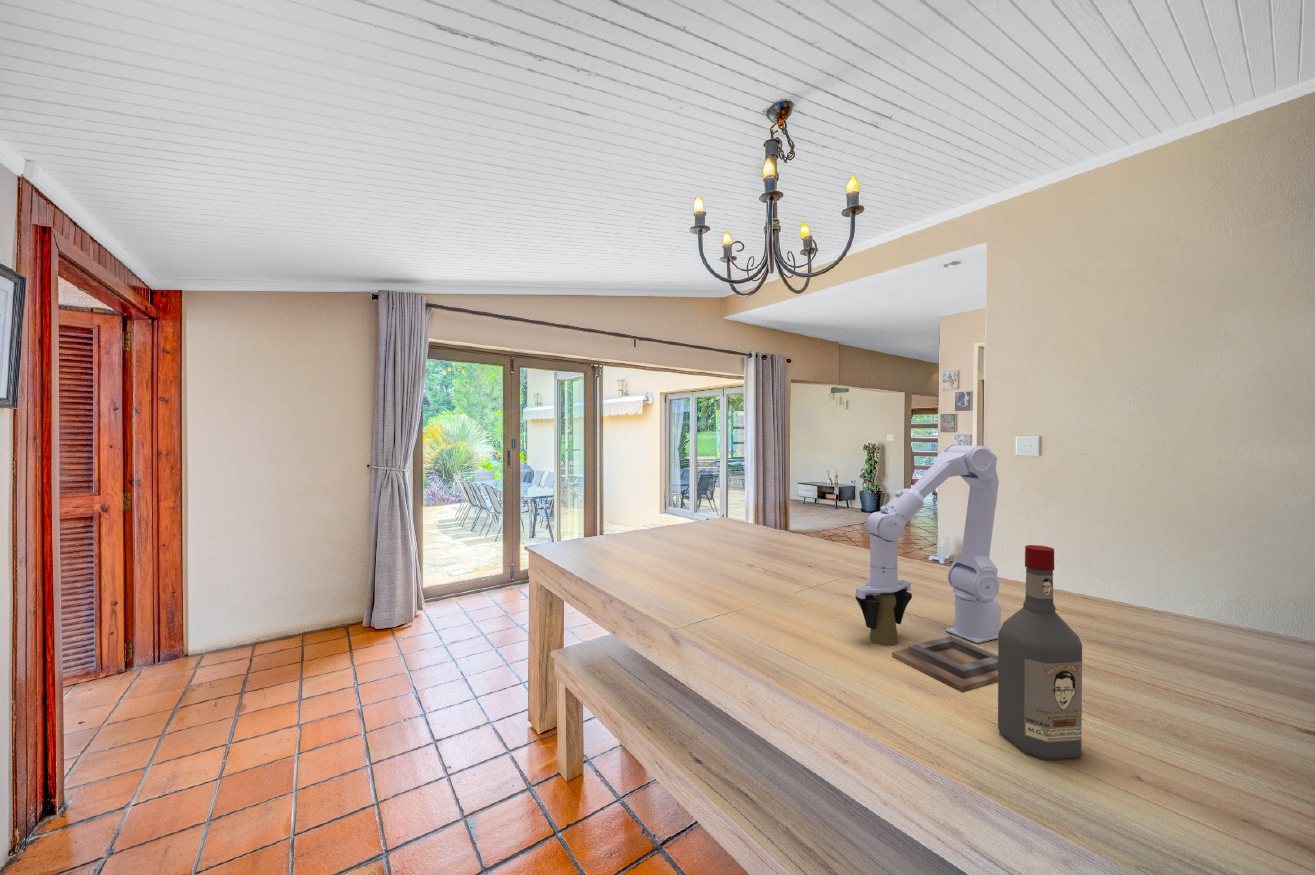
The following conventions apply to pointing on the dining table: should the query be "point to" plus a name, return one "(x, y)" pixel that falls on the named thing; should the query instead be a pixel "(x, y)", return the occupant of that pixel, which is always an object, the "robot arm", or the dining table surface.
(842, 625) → the dining table surface
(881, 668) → the dining table surface
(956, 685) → the socket board
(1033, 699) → the liquor
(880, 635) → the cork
